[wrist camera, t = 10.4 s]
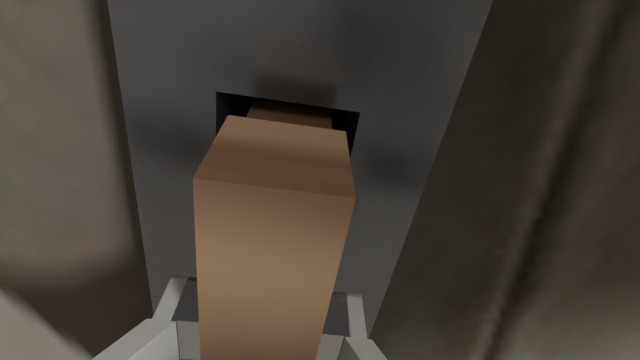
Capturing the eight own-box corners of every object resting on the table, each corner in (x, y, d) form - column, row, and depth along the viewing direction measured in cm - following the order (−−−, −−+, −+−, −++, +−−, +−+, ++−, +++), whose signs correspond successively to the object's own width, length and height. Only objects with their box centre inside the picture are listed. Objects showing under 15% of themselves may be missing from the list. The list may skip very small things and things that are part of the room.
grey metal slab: (122, -361, 8) (33, -505, 6) (535, -261, 9) (621, -345, 6) (184, 372, 24) (169, 421, 21) (332, 383, 25) (334, 432, 22)
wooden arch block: (252, 71, 12) (192, 178, 6) (338, 83, 13) (355, 198, 7) (240, 300, 19) (204, 460, 13) (297, 305, 19) (288, 465, 13)
